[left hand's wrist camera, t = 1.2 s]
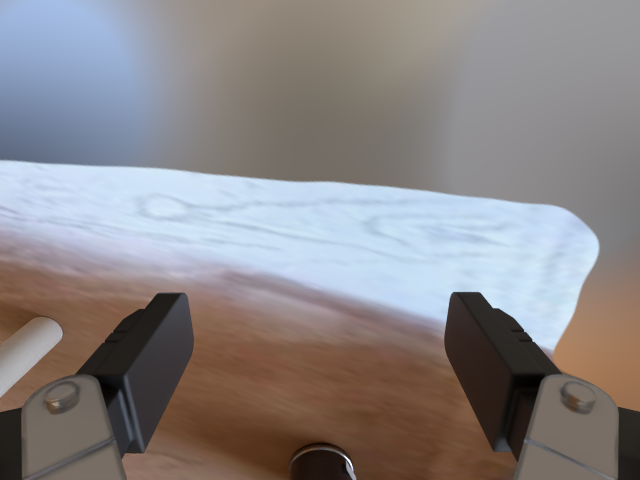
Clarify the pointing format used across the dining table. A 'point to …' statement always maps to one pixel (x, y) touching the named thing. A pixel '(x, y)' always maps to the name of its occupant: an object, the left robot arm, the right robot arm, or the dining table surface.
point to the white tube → (26, 349)
